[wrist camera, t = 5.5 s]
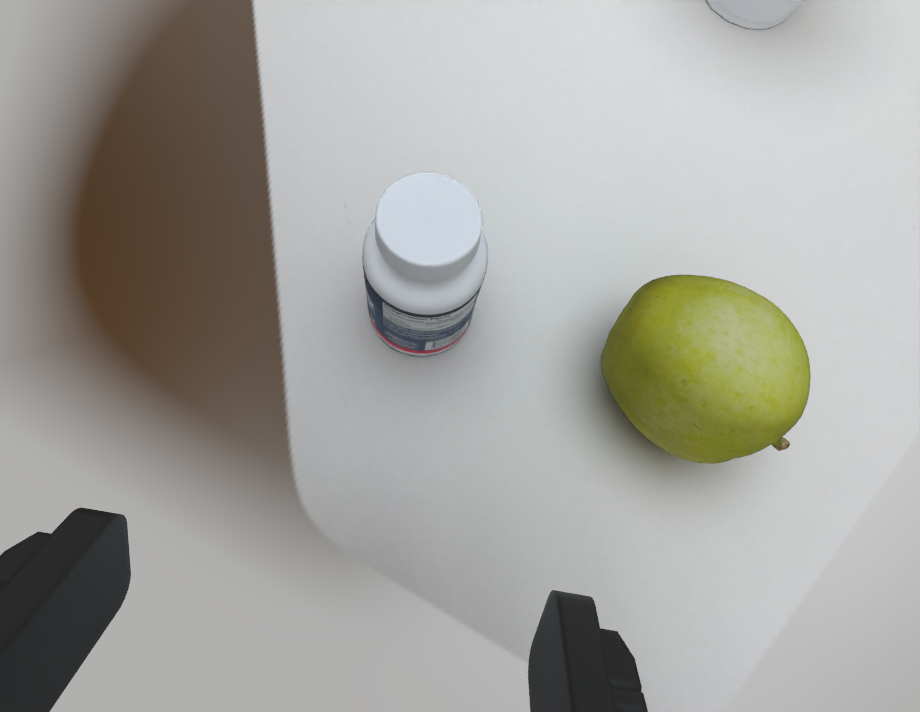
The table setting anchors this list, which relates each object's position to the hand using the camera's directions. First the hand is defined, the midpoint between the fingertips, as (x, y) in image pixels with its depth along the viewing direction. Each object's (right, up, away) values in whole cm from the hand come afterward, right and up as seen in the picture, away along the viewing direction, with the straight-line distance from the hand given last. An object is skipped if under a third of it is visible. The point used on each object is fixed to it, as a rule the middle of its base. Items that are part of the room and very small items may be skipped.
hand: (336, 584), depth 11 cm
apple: (+13, +2, +19) cm, 23 cm away
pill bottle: (0, +7, +19) cm, 20 cm away
